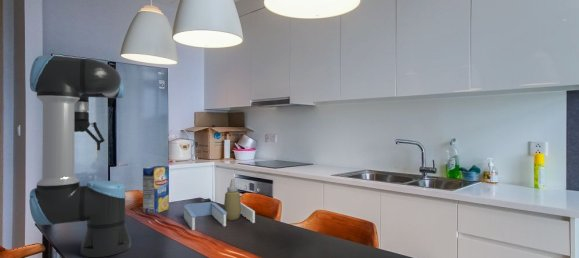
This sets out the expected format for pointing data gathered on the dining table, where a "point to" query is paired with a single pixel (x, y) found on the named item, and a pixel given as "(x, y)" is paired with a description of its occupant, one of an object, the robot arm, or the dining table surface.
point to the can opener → (205, 200)
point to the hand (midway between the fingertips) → (79, 158)
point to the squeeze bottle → (232, 202)
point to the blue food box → (155, 189)
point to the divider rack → (212, 212)
